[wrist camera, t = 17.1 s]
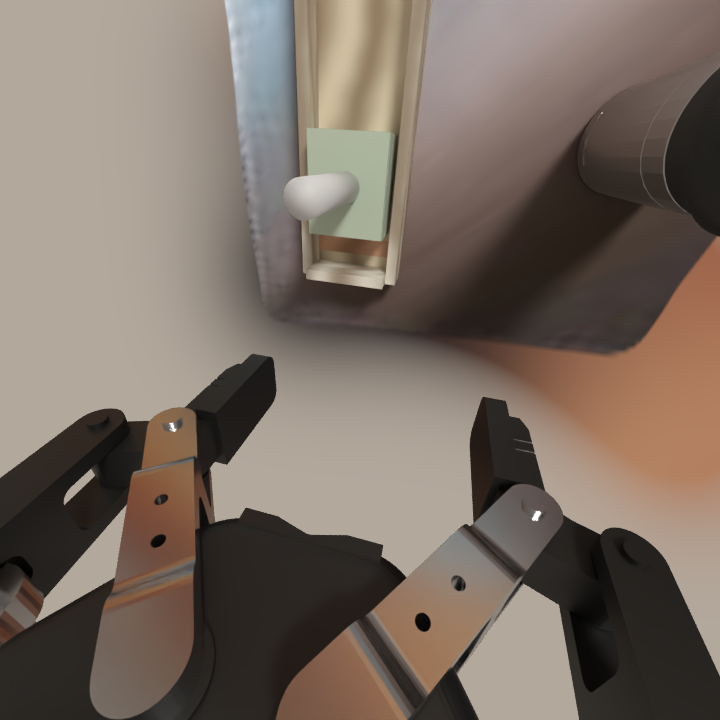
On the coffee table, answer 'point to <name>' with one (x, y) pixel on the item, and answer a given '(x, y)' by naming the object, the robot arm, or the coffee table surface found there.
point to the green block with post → (345, 183)
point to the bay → (360, 112)
